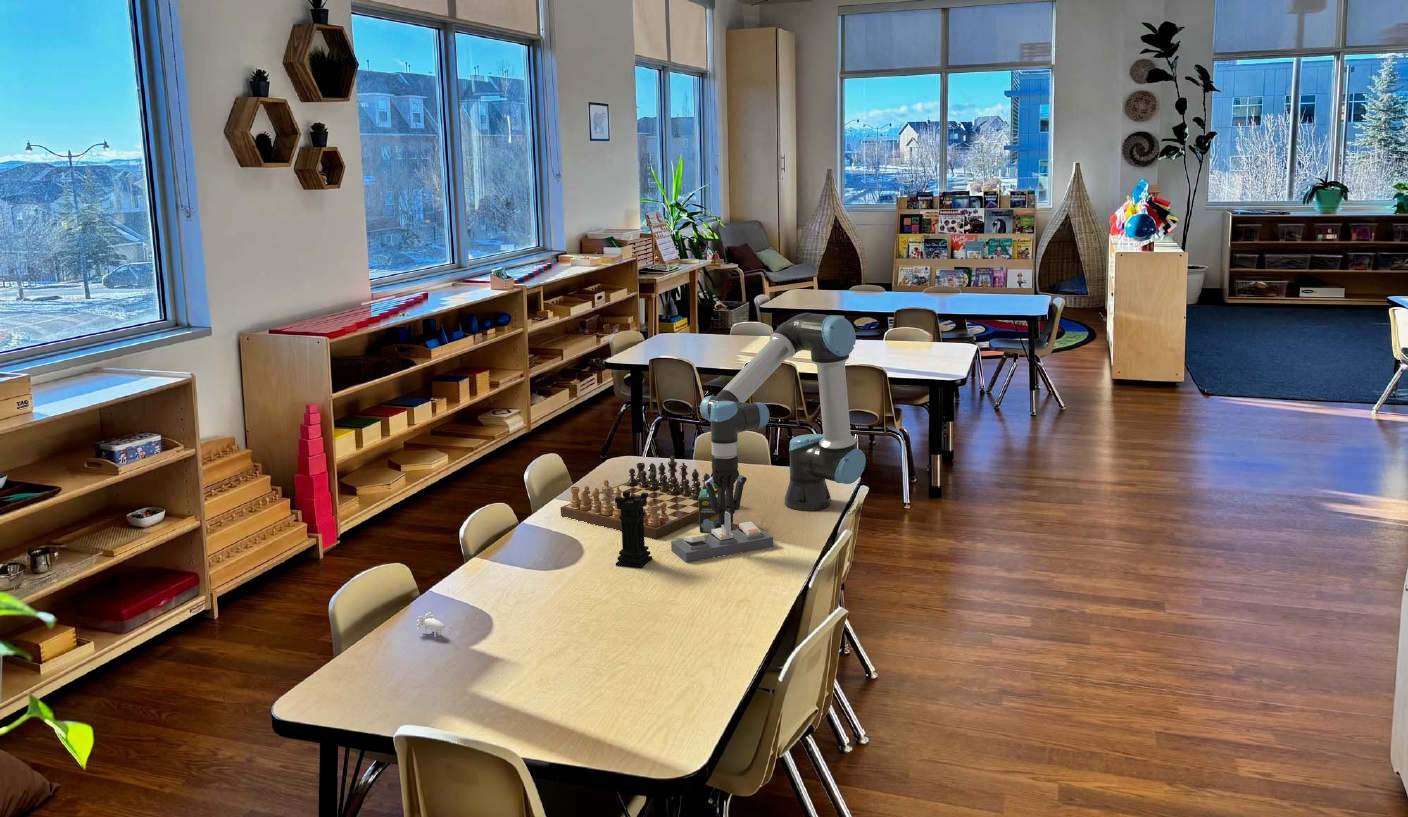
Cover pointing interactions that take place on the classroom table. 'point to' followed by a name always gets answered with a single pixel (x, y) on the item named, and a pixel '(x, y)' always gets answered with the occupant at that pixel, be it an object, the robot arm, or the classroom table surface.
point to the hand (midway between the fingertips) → (726, 534)
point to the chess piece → (632, 531)
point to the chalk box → (708, 512)
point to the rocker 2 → (749, 528)
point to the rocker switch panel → (720, 545)
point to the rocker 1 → (694, 538)
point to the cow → (430, 623)
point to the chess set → (664, 505)
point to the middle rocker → (720, 534)
